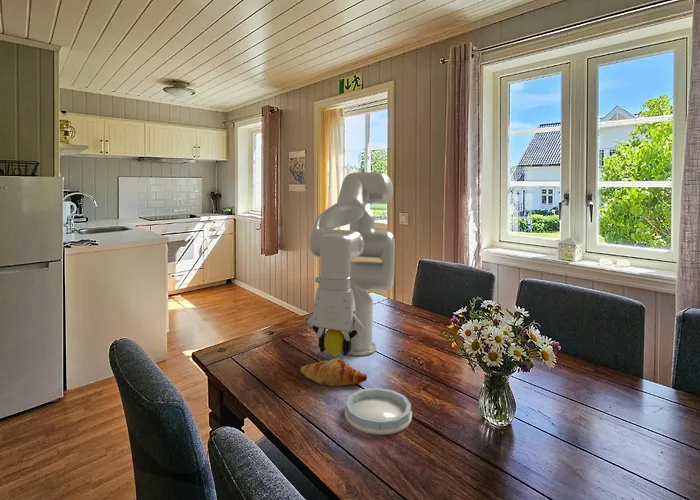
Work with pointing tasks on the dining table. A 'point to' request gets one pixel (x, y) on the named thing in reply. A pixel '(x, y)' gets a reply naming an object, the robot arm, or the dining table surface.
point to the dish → (378, 411)
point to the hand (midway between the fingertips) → (334, 351)
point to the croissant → (333, 373)
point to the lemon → (334, 342)
